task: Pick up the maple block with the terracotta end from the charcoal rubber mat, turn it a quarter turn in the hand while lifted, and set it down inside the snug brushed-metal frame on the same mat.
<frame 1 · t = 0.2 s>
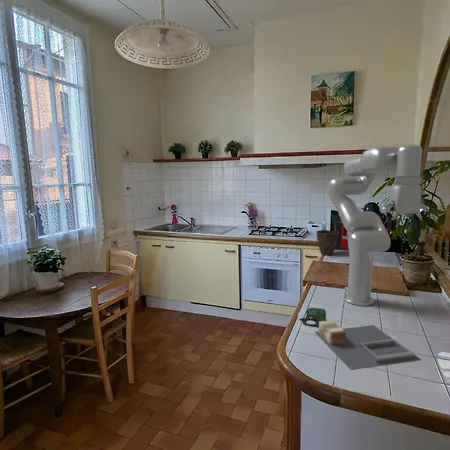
hand: (403, 230, 115), 36 cm above the countertop, tool pointing down, fingers open, 9 cm apart
metal frame: (385, 353, 102), resting on rubber mat
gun: (312, 319, 127), on the countertop
rubber mat: (363, 345, 107), on the countertop
maple block: (331, 337, 111), resting on rubber mat
plant pot: (326, 254, 225), on the countertop
cleaning product box: (345, 249, 240), on the countertop
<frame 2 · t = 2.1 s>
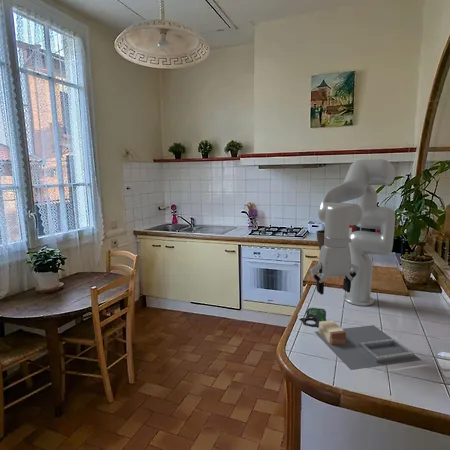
hand: (333, 292, 108), 17 cm above the countertop, tool pointing down, fingers open, 9 cm apart
nothing on the countertop moved.
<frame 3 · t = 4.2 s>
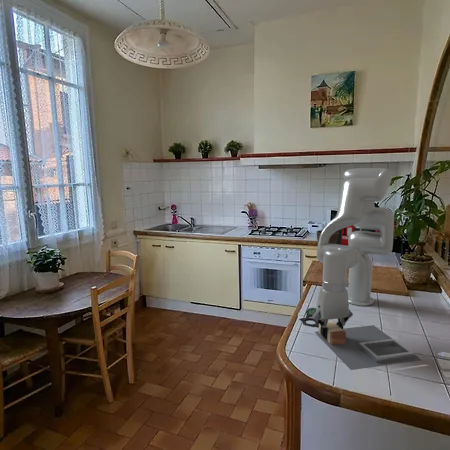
hand: (331, 335, 111), 1 cm above the countertop, tool pointing down, fingers closed on maple block, 5 cm apart
maple block: (331, 337, 111), resting on rubber mat, touching gripper
everything else where it was.
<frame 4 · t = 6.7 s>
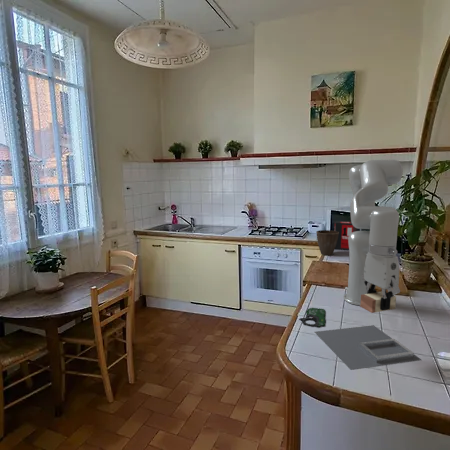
hand: (377, 305, 101), 16 cm above the countertop, tool pointing down, fingers closed on maple block, 5 cm apart
maple block: (377, 307, 101), point 15 cm above the countertop, touching gripper
everything else where it was.
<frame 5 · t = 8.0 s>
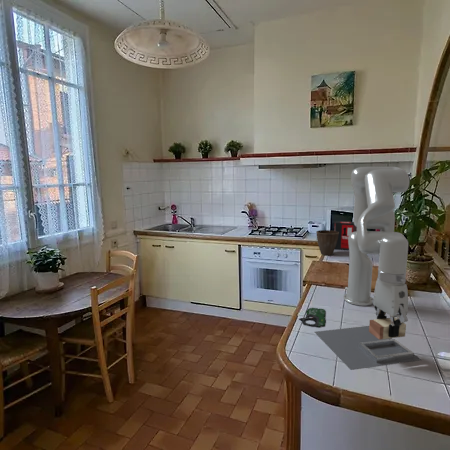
hand: (387, 331, 101), 7 cm above the countertop, tool pointing down, fingers closed on maple block, 5 cm apart
maple block: (386, 334, 101), point 7 cm above the countertop, touching gripper
everything else where it was.
when the fingers open (4 cm above the countertop, at t = 9.2 s): maple block drops 2 cm, resting on rubber mat.
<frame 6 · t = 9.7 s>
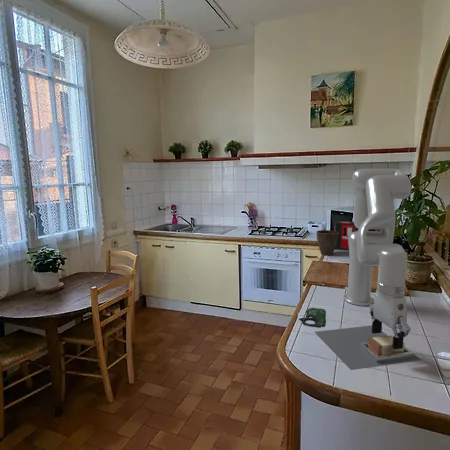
hand: (386, 340, 101), 4 cm above the countertop, tool pointing down, fingers open, 9 cm apart
maple block: (385, 352, 102), resting on rubber mat
everything else where it was.
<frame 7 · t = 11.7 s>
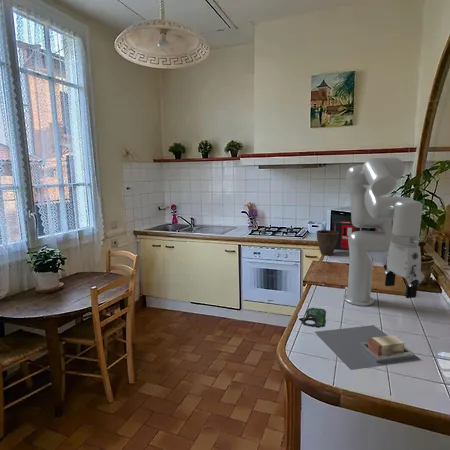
hand: (399, 291, 104), 19 cm above the countertop, tool pointing down, fingers open, 9 cm apart
nothing on the countertop moved.
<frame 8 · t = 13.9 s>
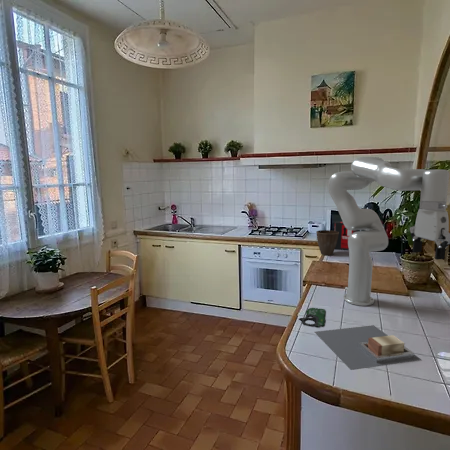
hand: (427, 255, 111), 28 cm above the countertop, tool pointing down, fingers open, 9 cm apart
nothing on the countertop moved.
at the end: maple block 0.1 cm off-centre on the metal frame, point 0.4 cm above the metal frame's base; maple block tilted 0°; the gripper is holding nothing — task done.
